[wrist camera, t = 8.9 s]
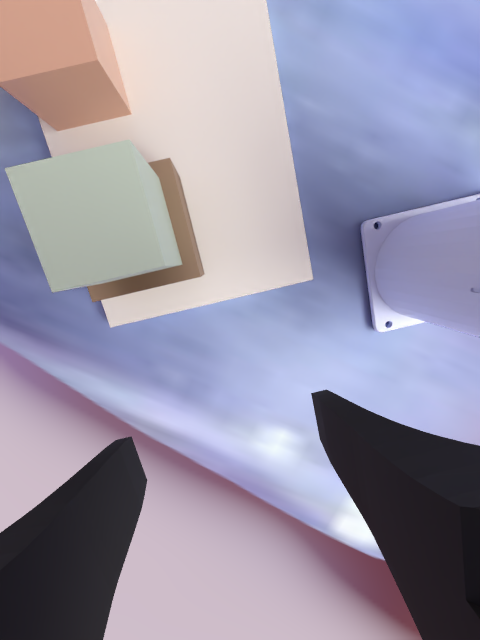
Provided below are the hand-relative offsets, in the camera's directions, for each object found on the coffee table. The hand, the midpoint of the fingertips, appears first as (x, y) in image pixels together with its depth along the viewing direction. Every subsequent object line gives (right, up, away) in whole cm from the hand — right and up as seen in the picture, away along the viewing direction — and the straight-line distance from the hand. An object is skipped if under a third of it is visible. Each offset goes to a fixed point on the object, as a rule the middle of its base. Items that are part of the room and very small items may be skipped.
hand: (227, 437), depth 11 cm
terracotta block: (-8, +18, +5) cm, 20 cm away
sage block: (-5, +9, +4) cm, 11 cm away
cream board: (-3, +14, +7) cm, 16 cm away
